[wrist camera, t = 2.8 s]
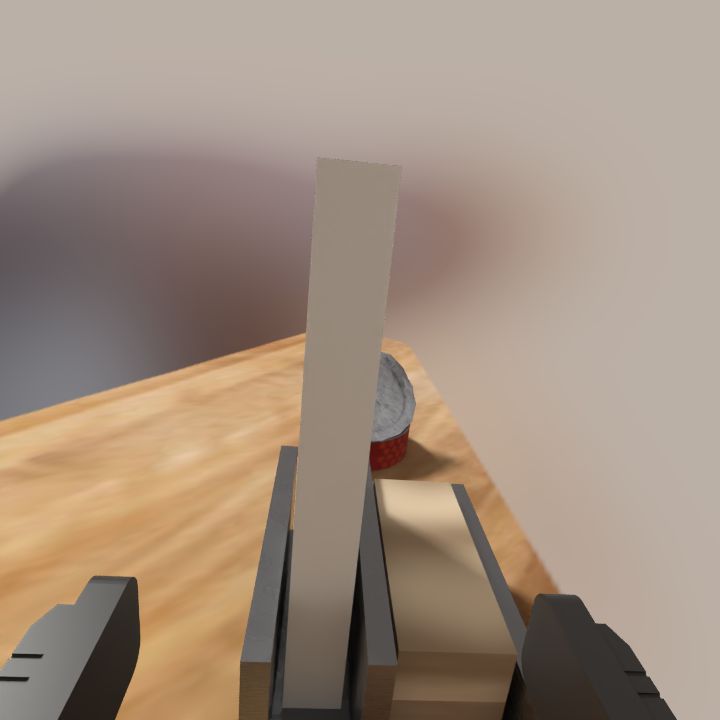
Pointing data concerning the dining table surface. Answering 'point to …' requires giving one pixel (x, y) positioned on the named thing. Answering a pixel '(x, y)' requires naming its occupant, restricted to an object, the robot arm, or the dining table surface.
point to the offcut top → (440, 598)
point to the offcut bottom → (446, 710)
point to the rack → (368, 618)
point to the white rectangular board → (336, 418)
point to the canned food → (391, 414)
